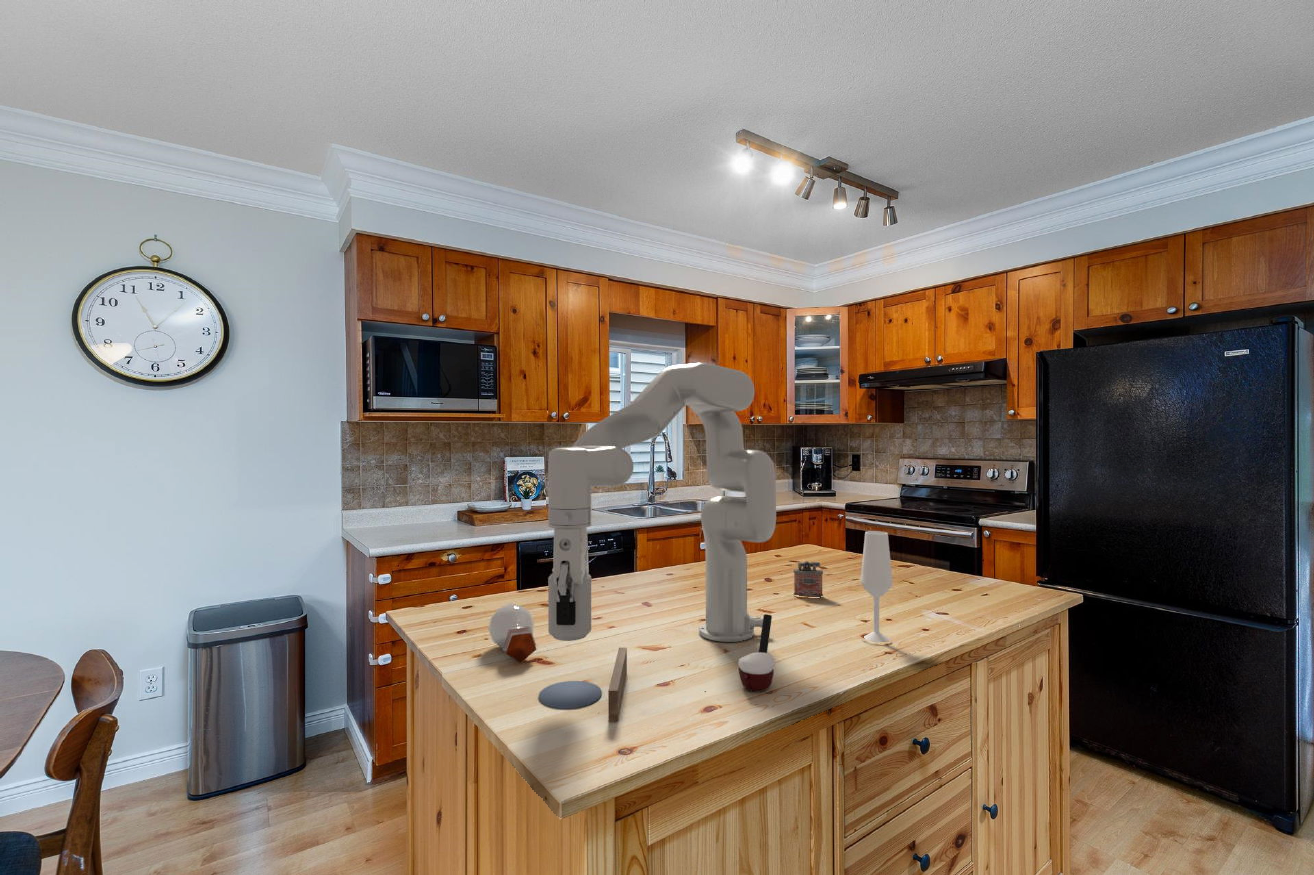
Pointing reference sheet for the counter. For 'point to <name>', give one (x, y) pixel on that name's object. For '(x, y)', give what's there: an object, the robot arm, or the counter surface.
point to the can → (582, 610)
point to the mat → (570, 694)
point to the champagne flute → (876, 574)
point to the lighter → (808, 580)
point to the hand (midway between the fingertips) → (569, 617)
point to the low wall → (617, 685)
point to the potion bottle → (513, 631)
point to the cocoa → (758, 663)
